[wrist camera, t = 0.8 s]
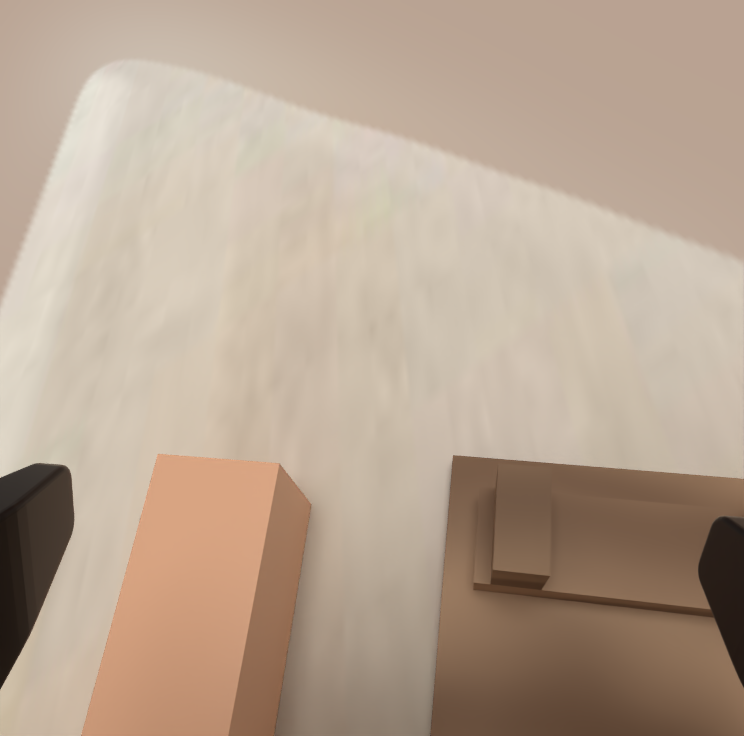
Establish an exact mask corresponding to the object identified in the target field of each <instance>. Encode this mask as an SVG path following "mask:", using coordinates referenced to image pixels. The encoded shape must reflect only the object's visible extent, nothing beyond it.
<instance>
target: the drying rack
mask: <svg viewBox="0 0 744 736" xmlns="http://www.w3.org/2000/svg"><path fill="white" fill-rule="evenodd" d="M720 516H736V517H744V479H738V478H726V477H713V476H701V475H689V474H677V473H664V472H652V471H640V470H627V469H615V468H603V467H590V466H578V465H566V464H553V463H541V462H529V461H516V460H504V459H492V458H480V457H467V456H455V455H453V463H452V475H451V487H450V500H449V512H448V524H447V537H446V549H445V561H444V574H443V586H442V599H441V611H440V623H439V636H438V648H437V660H436V673H435V685H434V697H433V710H432V722H431V735H430V736H744V688H743V686H742V684H741V682H740V680H739V677H738V675H737V673H736V671H735V668H734V666H733V664H732V661H731V659H730V656H729V654H728V651H727V649H726V646H725V644H724V641H723V639H722V636H721V634H720V631H719V629H718V626H717V624H716V621H715V619H714V616H713V614H712V611H711V609H710V606H709V603H708V601H707V598H706V596H705V593H704V591H703V588H702V586H701V583H700V580H699V576H698V563H699V560H700V557H701V554H702V551H703V548H704V545H705V542H706V539H707V536H708V534H709V531H710V528H711V525H712V523H713V521H714V520H715V519H716V518H718V517H720Z"/></svg>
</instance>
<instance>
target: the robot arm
mask: <svg viewBox="0 0 744 736" xmlns="http://www.w3.org/2000/svg"><path fill="white" fill-rule="evenodd" d="M73 527H74V506H73V491H72V478H71V473H70V470H69V469H68V468H67V467H66V466H64V465H58V464H45V463H36V464H33V465H30V466H28V467H25V468H23V469H20V470H18V471H16V472H13V473H11V474H8V475H6V476H4V477H1V478H0V689H1V687H2V685H3V684H4V682H5V680H6V678H7V676H8V675H9V673H10V671H11V669H12V667H13V665H14V664H15V662H16V660H17V658H18V656H19V655H20V653H21V651H22V649H23V647H24V645H25V643H26V641H27V639H28V637H29V636H30V633H31V631H32V629H33V627H34V624H35V622H36V620H37V618H38V615H39V613H40V610H41V608H42V606H43V603H44V601H45V598H46V596H47V593H48V591H49V589H50V586H51V584H52V581H53V579H54V577H55V574H56V572H57V569H58V567H59V564H60V562H61V560H62V557H63V555H64V552H65V550H66V547H67V545H68V543H69V540H70V538H71V535H72V531H73ZM698 576H699V580H700V583H701V586H702V588H703V591H704V593H705V596H706V598H707V601H708V603H709V606H710V609H711V611H712V614H713V616H714V619H715V621H716V624H717V626H718V629H719V631H720V634H721V636H722V639H723V641H724V644H725V646H726V649H727V651H728V654H729V656H730V659H731V661H732V664H733V666H734V668H735V671H736V673H737V675H738V677H739V680H740V682H741V684H742V686H743V688H744V517H736V516H720V517H718V518H716V519H715V520H714V521H713V523H712V525H711V528H710V531H709V534H708V536H707V539H706V542H705V545H704V548H703V551H702V554H701V557H700V560H699V563H698Z"/></svg>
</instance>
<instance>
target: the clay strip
mask: <svg viewBox="0 0 744 736" xmlns="http://www.w3.org/2000/svg"><path fill="white" fill-rule="evenodd" d="M310 510H311V503H310V502H309V501H308V499H307V498H306V497H305V496H304V494H303V493H302V492H301V490H300V489H299V488H298V487H297V485H296V484H295V483H294V481H293V480H292V479H291V478H290V476H289V475H288V474H287V473H286V471H285V470H284V469H283V467H282V466H281V465H280V464H279V463H267V462H255V461H242V460H229V459H216V458H203V457H190V456H178V455H165V454H158V456H157V459H156V463H155V467H154V470H153V474H152V478H151V481H150V485H149V489H148V492H147V496H146V500H145V503H144V507H143V511H142V514H141V518H140V522H139V525H138V529H137V533H136V536H135V540H134V544H133V547H132V551H131V555H130V558H129V562H128V566H127V569H126V573H125V577H124V580H123V584H122V588H121V591H120V595H119V599H118V602H117V606H116V610H115V613H114V617H113V621H112V624H111V628H110V632H109V635H108V639H107V643H106V646H105V650H104V654H103V657H102V661H101V665H100V668H99V672H98V676H97V679H96V683H95V687H94V691H93V694H92V698H91V702H90V705H89V709H88V713H87V716H86V720H85V724H84V727H83V731H82V735H81V736H274V733H275V727H276V720H277V714H278V708H279V702H280V696H281V689H282V683H283V677H284V671H285V665H286V658H287V652H288V646H289V640H290V634H291V627H292V621H293V615H294V609H295V603H296V596H297V590H298V584H299V578H300V572H301V565H302V559H303V553H304V547H305V541H306V534H307V528H308V522H309V516H310Z"/></svg>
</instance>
